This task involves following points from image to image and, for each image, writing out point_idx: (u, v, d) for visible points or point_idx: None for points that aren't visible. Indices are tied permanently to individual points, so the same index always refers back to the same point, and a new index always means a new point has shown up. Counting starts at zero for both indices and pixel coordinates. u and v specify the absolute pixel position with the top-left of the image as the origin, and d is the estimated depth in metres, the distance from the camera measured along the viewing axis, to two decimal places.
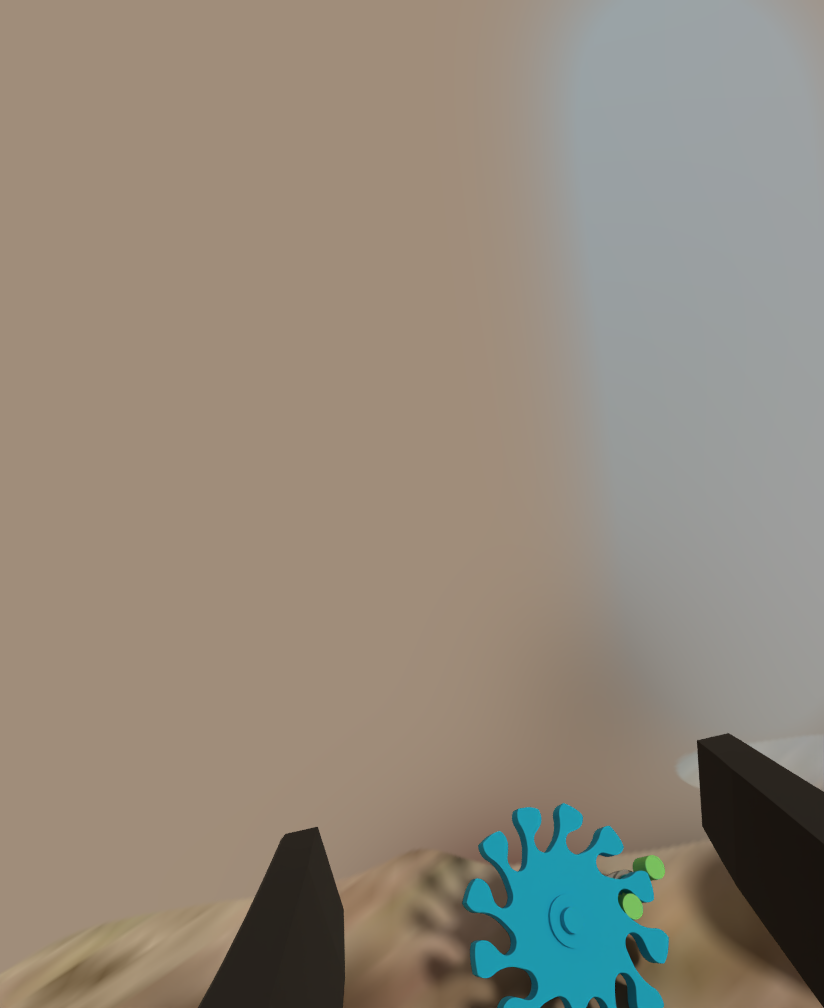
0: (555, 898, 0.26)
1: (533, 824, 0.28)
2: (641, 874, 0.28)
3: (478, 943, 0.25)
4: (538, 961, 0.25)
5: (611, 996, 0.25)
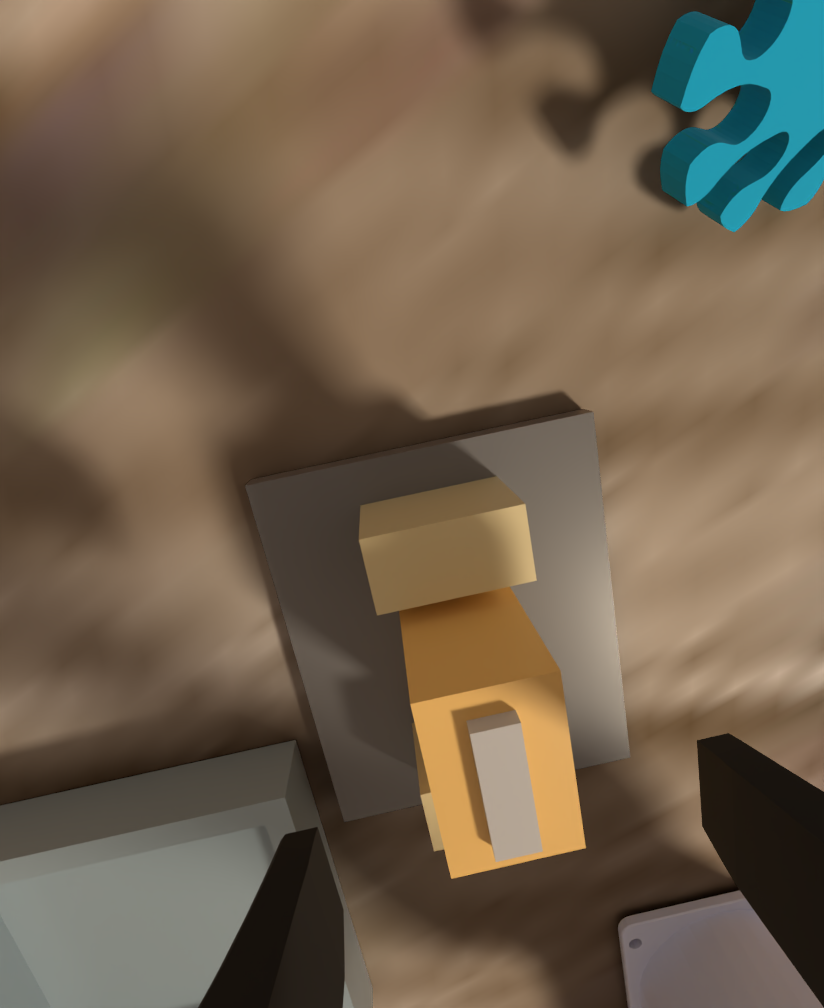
0: None
1: None
2: None
3: (714, 34, 0.10)
4: (792, 68, 0.11)
5: None
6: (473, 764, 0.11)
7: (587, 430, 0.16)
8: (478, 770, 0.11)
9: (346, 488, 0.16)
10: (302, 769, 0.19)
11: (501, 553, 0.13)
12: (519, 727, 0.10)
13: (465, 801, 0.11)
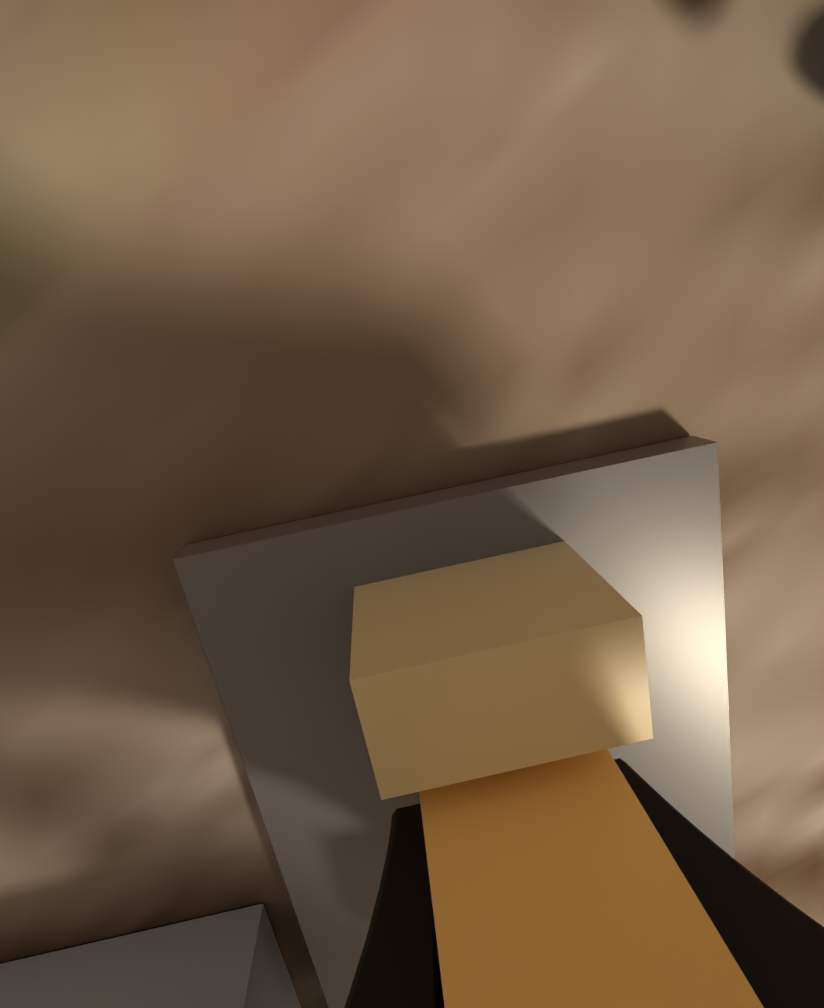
0: None
1: None
2: None
3: None
4: None
5: None
6: None
7: (706, 471, 0.10)
8: None
9: (332, 561, 0.10)
10: (273, 944, 0.13)
11: (597, 696, 0.08)
12: None
13: None
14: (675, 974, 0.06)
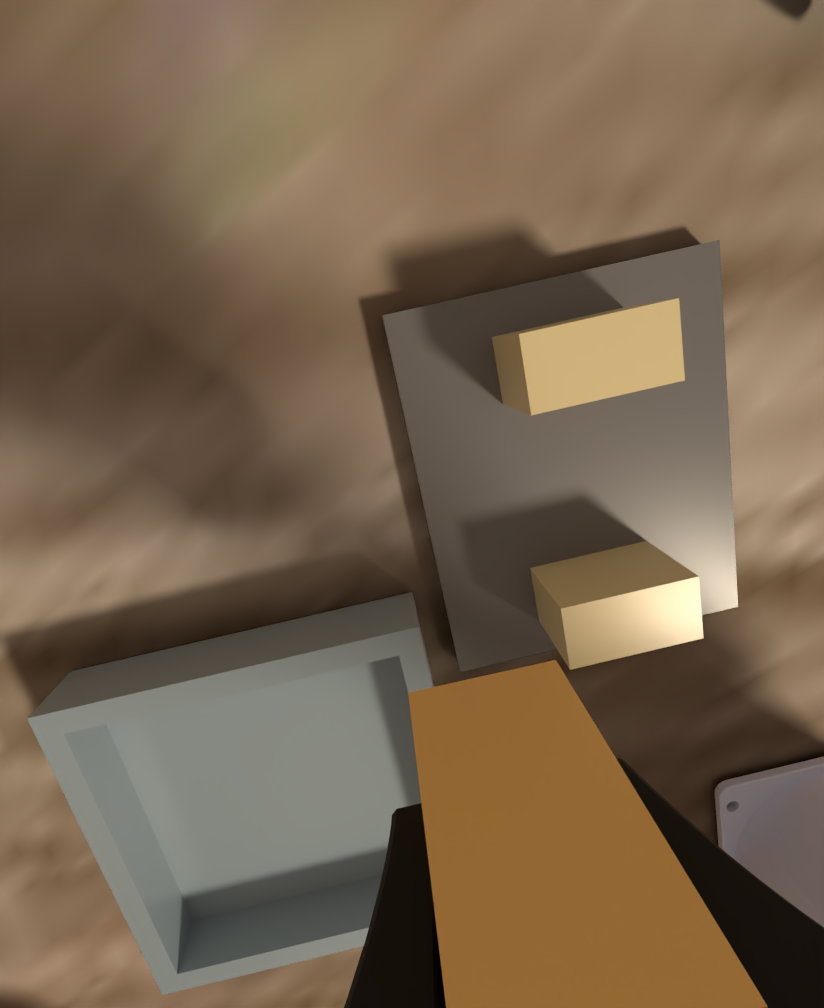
0: None
1: None
2: None
3: None
4: None
5: None
6: None
7: (712, 259, 0.16)
8: None
9: (479, 318, 0.16)
10: None
11: (653, 350, 0.14)
12: None
13: None
14: (676, 970, 0.06)
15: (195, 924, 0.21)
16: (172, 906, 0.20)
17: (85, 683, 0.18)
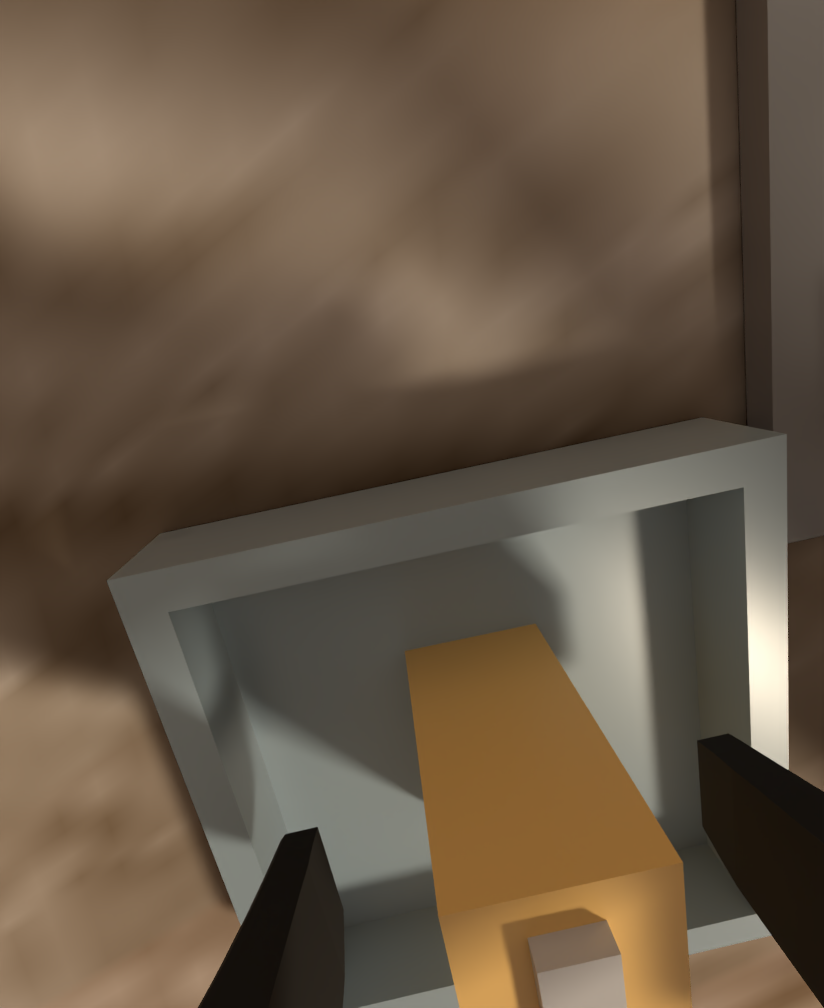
0: None
1: None
2: None
3: None
4: None
5: None
6: (535, 999, 0.07)
7: None
8: None
9: None
10: None
11: None
12: (618, 961, 0.06)
13: None
14: (615, 841, 0.07)
15: None
16: None
17: (194, 540, 0.11)
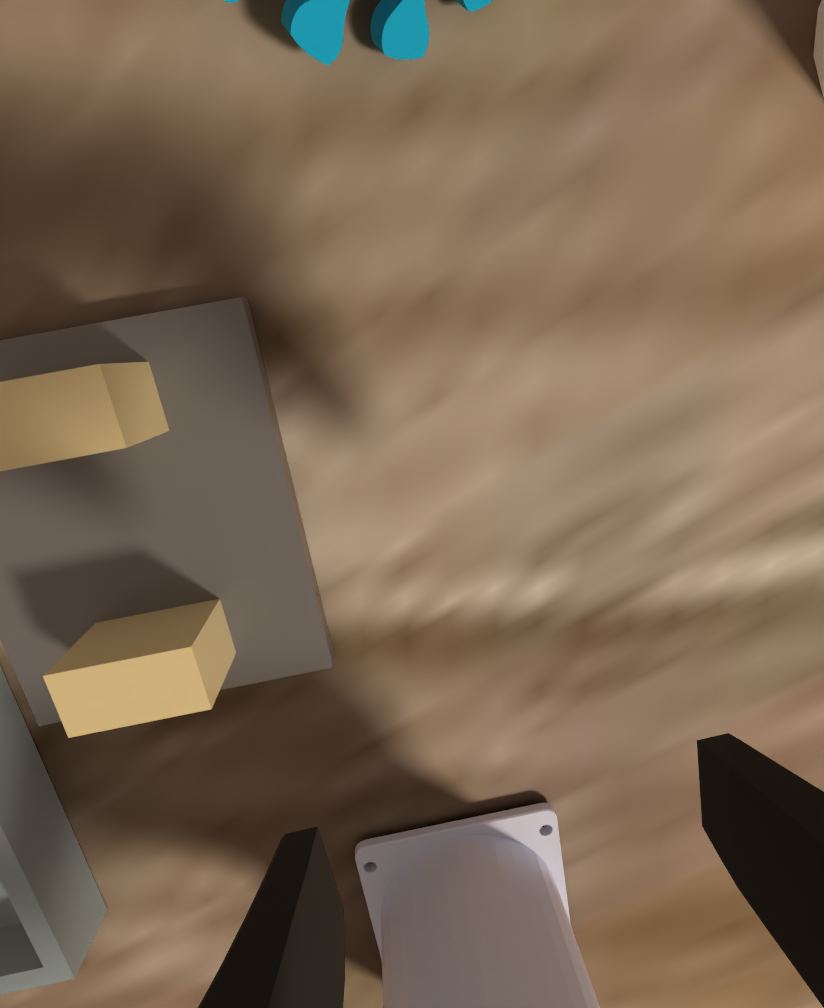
0: None
1: None
2: None
3: None
4: None
5: None
6: None
7: (238, 316, 0.15)
8: None
9: None
10: None
11: (83, 416, 0.13)
12: None
13: None
14: None
15: None
16: None
17: None
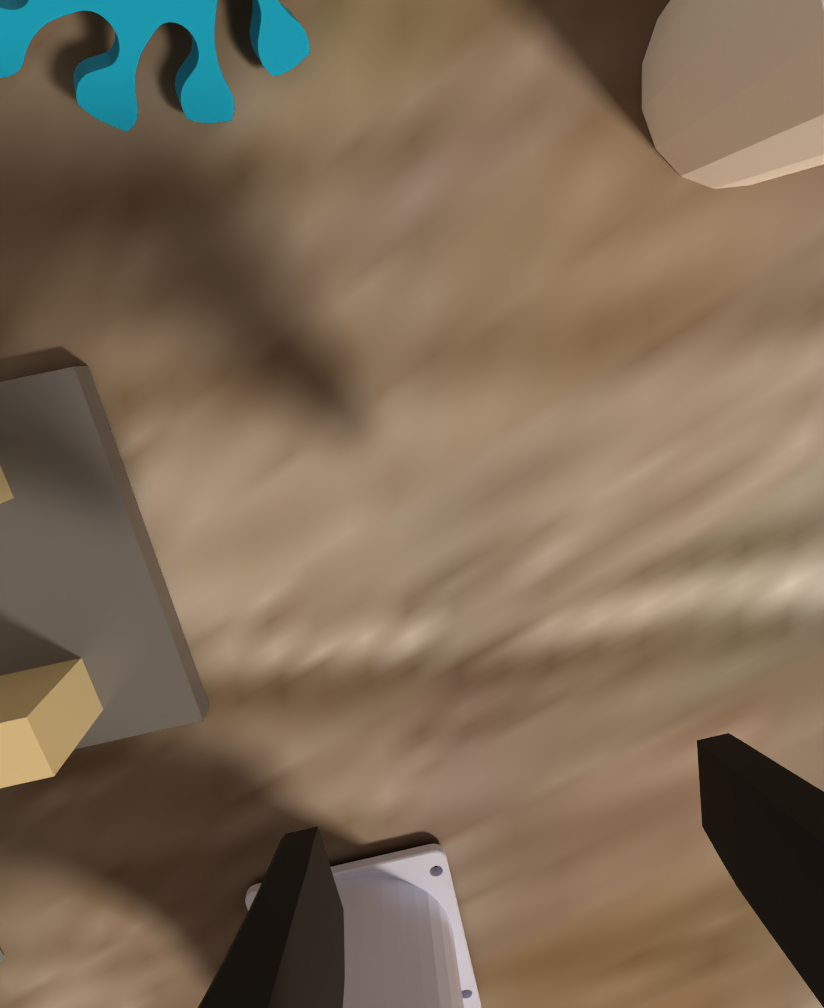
0: None
1: None
2: None
3: None
4: None
5: (205, 26, 0.13)
6: None
7: (72, 385, 0.16)
8: None
9: None
10: None
11: None
12: None
13: None
14: None
15: None
16: None
17: None
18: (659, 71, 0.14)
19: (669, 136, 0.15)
